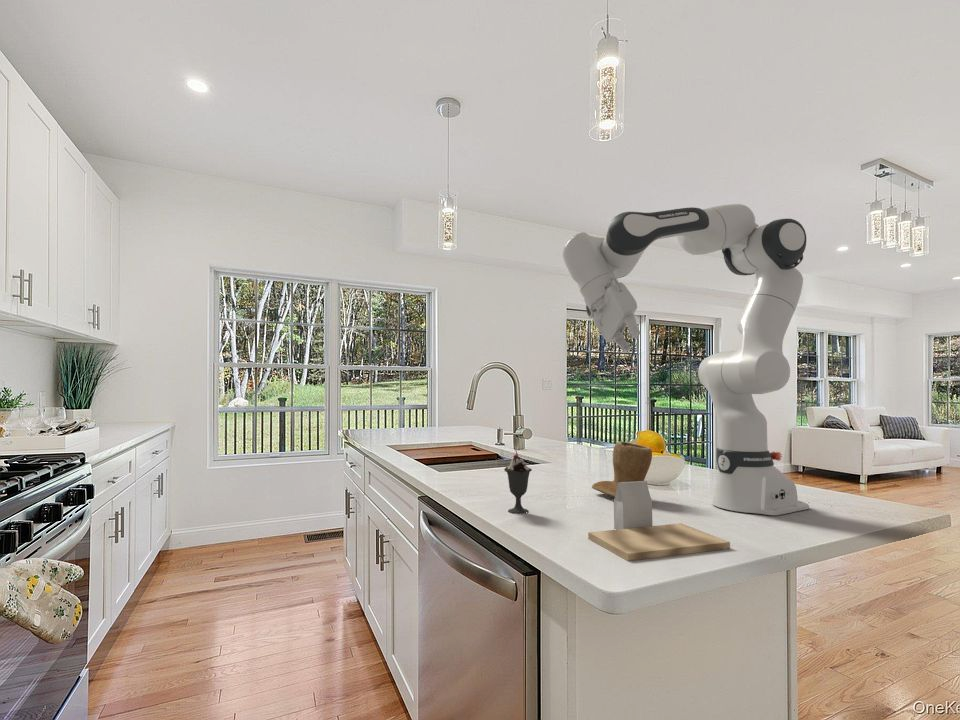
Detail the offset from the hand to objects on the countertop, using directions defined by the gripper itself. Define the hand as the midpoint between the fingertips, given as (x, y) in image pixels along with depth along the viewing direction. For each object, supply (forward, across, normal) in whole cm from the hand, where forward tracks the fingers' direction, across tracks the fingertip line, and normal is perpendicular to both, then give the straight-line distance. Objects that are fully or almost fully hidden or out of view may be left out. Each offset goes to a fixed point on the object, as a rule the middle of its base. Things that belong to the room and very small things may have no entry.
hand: (632, 343), depth 119 cm
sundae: (+23, +16, +39) cm, 48 cm away
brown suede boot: (+31, +32, +11) cm, 46 cm away
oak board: (+39, -6, +18) cm, 44 cm away
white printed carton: (+36, +2, +19) cm, 41 cm away
